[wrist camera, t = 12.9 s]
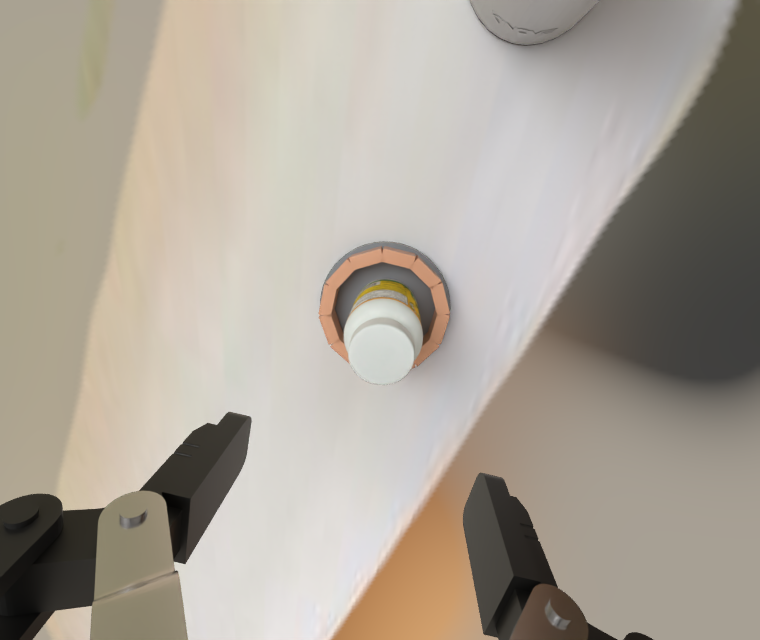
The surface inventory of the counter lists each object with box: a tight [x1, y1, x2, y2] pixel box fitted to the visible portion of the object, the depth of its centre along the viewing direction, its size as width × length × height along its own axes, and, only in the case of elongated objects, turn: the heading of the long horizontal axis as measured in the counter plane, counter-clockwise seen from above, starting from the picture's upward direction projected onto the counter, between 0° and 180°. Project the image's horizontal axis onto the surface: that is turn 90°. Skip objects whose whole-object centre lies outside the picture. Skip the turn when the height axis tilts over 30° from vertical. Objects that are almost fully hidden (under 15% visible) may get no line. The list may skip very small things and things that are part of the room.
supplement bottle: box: [344, 279, 423, 385], centre depth 26 cm, size 5×5×10 cm
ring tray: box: [319, 242, 450, 368], centre depth 30 cm, size 11×11×3 cm
